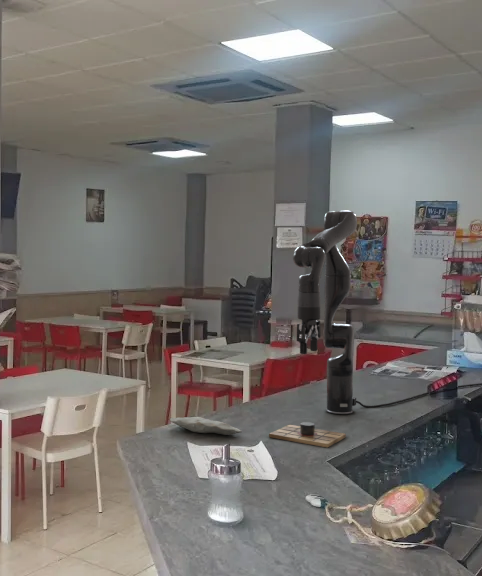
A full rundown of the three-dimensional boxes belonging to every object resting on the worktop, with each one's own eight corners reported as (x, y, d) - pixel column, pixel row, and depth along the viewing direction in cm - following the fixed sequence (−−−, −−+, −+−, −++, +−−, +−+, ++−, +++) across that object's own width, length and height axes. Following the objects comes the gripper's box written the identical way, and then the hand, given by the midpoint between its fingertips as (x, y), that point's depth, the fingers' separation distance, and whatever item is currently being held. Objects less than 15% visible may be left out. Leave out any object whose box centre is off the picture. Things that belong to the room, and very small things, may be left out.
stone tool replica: (163, 427, 242) (230, 438, 228) (165, 412, 243) (232, 422, 228) (184, 429, 254) (249, 439, 240) (186, 414, 255) (251, 424, 241)
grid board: (289, 427, 247) (289, 424, 247) (345, 437, 234) (345, 433, 234) (268, 437, 235) (268, 433, 235) (327, 447, 223) (327, 443, 223)
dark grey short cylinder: (303, 430, 238) (303, 421, 238) (316, 433, 235) (317, 423, 235) (297, 433, 234) (297, 424, 234) (311, 436, 231) (311, 426, 231)
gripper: (310, 307, 237) (310, 356, 238) (327, 304, 248) (327, 350, 249) (289, 306, 242) (289, 354, 243) (307, 303, 253) (307, 349, 254)
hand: (308, 352), depth 246 cm, fingers open, 8 cm apart
